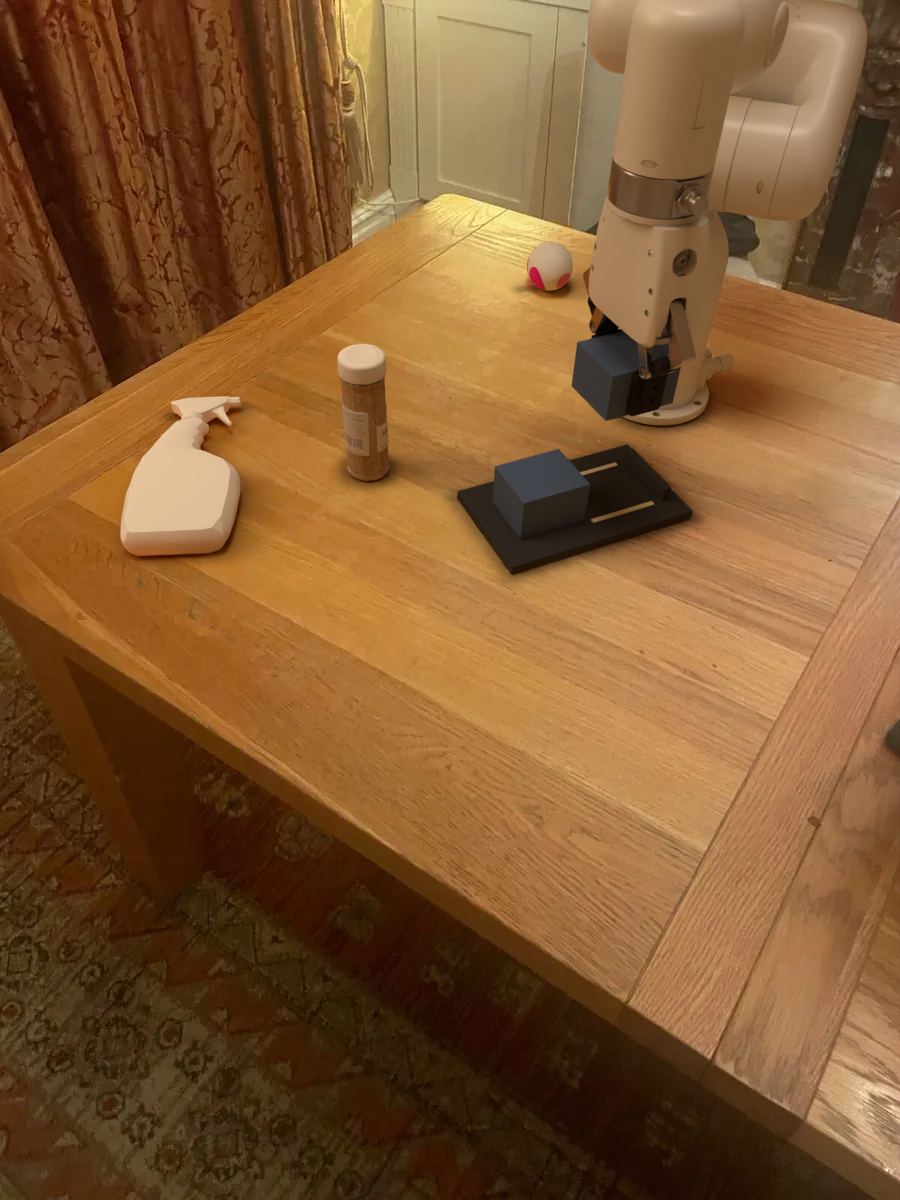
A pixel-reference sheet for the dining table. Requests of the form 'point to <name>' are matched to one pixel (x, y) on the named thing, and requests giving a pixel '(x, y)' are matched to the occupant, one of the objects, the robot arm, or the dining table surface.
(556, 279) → the stress ball
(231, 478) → the spray bottle
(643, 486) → the pad base
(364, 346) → the sprinkles bottle
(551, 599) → the dining table surface
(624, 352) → the back pad
